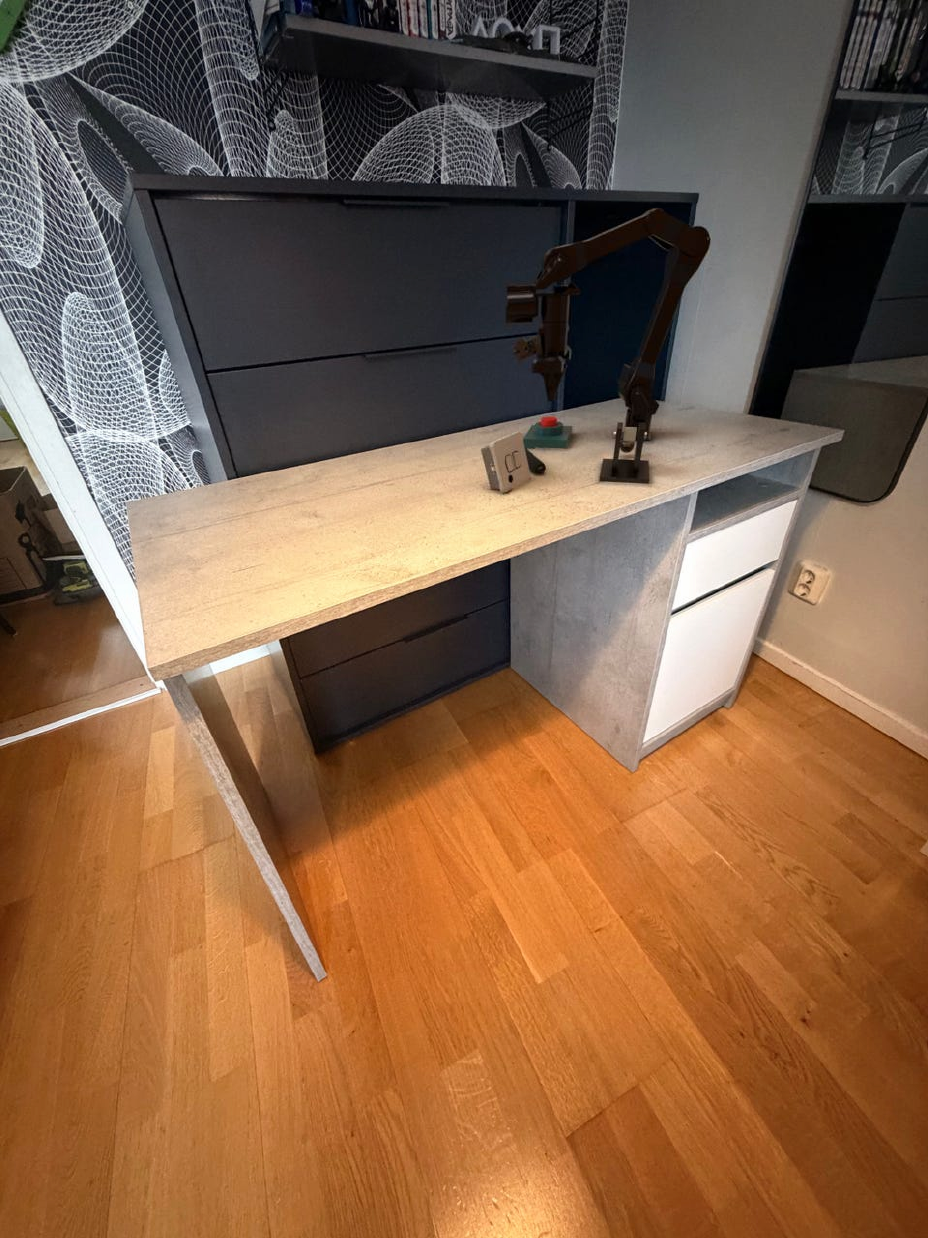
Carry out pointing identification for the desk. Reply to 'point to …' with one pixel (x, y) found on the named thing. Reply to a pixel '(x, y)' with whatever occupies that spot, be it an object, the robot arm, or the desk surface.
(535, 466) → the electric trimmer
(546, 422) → the button
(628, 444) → the lever
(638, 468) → the bracket
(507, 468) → the electrical switch
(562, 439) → the button block
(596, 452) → the desk surface
